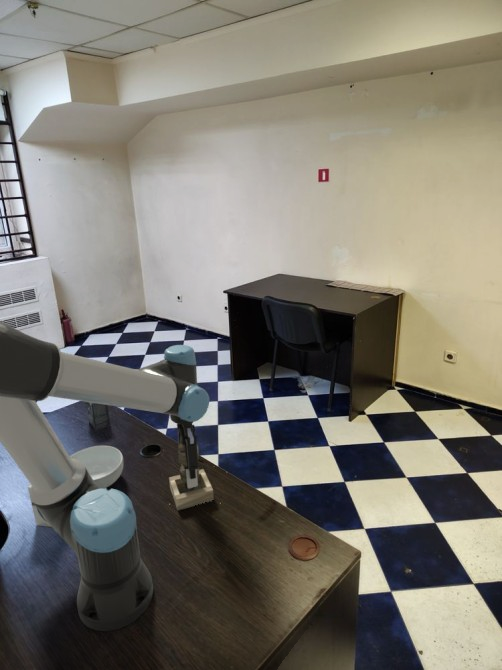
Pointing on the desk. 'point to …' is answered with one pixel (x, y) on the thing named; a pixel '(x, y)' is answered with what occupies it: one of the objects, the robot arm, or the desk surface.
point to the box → (98, 415)
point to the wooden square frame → (191, 491)
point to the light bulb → (184, 464)
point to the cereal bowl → (101, 463)
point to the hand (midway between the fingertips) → (190, 479)
